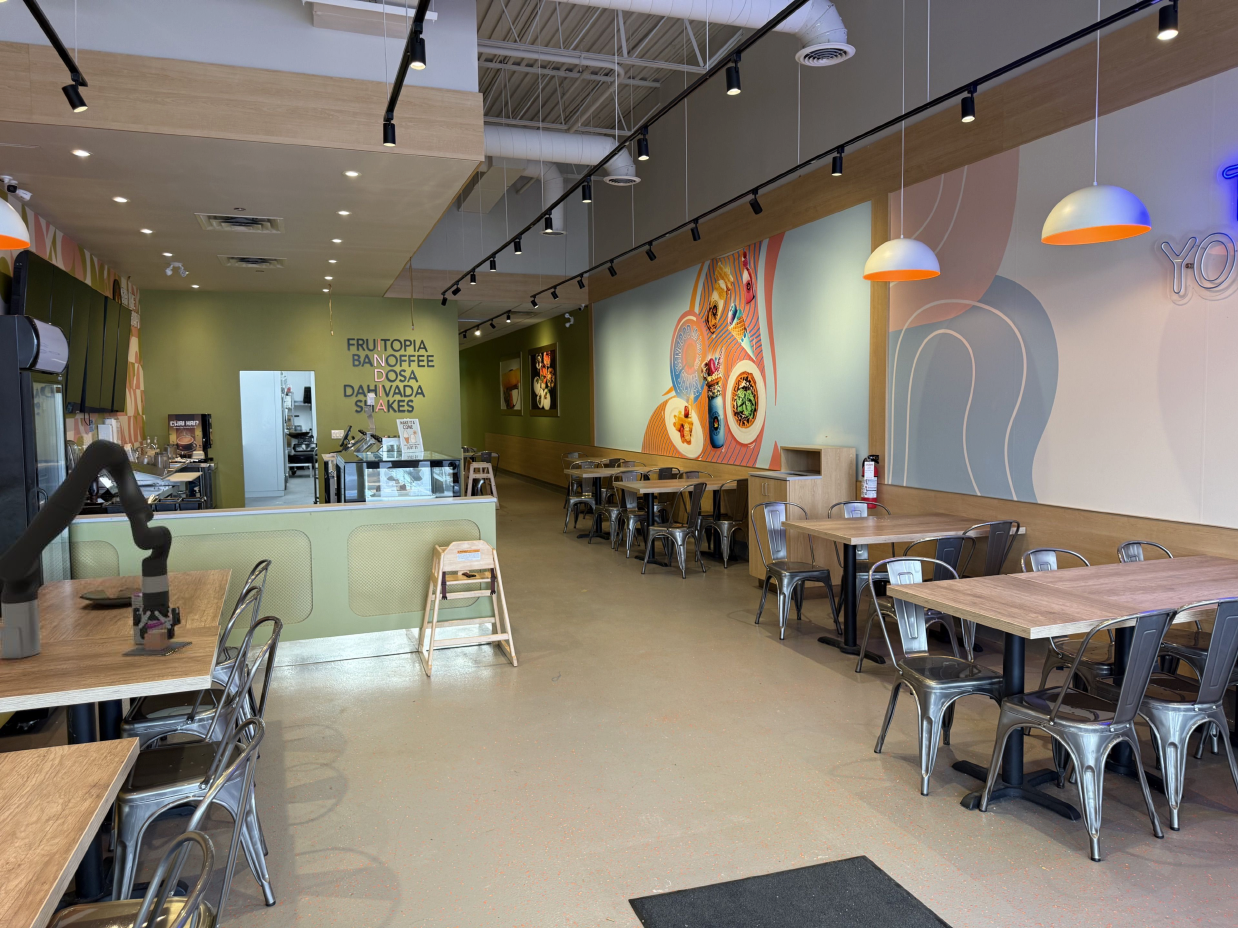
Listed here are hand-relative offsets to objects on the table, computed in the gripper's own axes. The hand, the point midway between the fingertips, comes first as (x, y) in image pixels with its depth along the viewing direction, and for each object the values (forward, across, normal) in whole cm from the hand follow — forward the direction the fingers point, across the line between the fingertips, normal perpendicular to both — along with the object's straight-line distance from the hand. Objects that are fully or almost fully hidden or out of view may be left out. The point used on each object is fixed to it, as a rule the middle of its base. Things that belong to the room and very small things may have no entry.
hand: (157, 638), depth 253 cm
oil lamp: (+4, -55, +64) cm, 84 cm away
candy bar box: (+4, -9, +11) cm, 15 cm away
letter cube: (+3, 0, 0) cm, 3 cm away
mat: (+3, 0, 0) cm, 3 cm away
